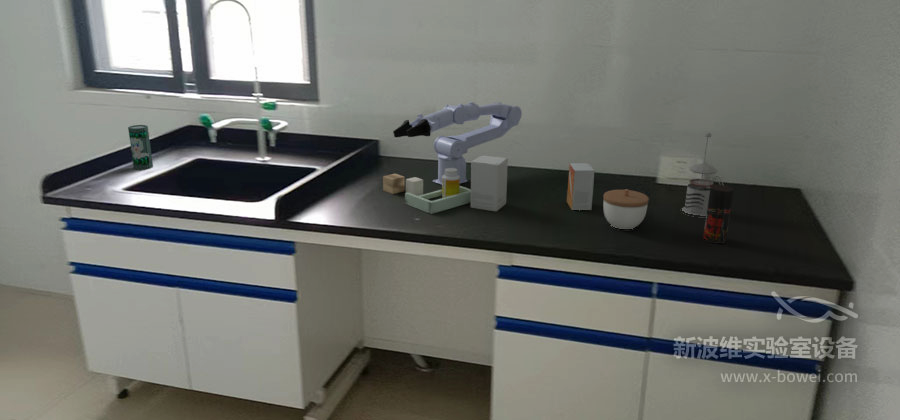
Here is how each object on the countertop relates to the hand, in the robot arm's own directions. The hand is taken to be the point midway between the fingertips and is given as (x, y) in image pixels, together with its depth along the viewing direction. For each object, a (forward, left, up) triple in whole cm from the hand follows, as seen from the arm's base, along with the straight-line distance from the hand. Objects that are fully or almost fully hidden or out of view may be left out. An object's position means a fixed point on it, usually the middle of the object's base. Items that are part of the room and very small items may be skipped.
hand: (401, 134), depth 220 cm
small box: (-34, +46, -20) cm, 61 cm away
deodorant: (-40, +88, -20) cm, 99 cm away
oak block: (0, -4, -20) cm, 20 cm away
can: (+52, -84, -20) cm, 101 cm away
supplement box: (-13, +27, -20) cm, 36 cm away
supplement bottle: (-8, +15, -20) cm, 26 cm away
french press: (-58, +74, -20) cm, 96 cm away
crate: (-4, +15, -20) cm, 25 cm away
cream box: (-3, +3, -20) cm, 20 cm away
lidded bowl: (-30, +65, -20) cm, 74 cm away
